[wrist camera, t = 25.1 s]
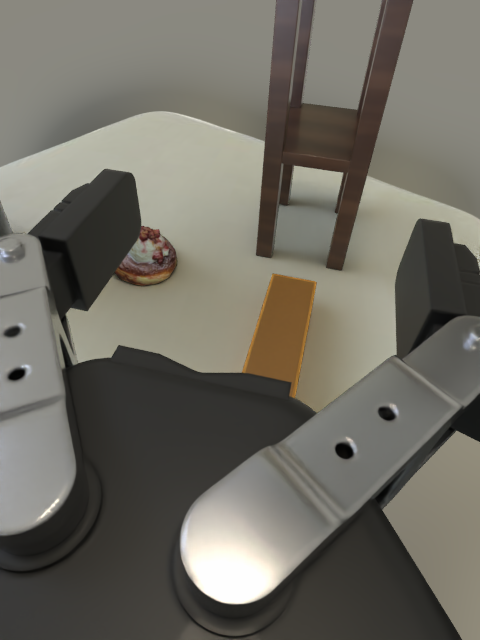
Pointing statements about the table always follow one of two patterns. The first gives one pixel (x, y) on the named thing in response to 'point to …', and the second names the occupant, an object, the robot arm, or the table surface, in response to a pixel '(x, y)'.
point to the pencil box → (282, 330)
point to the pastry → (148, 259)
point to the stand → (322, 120)
